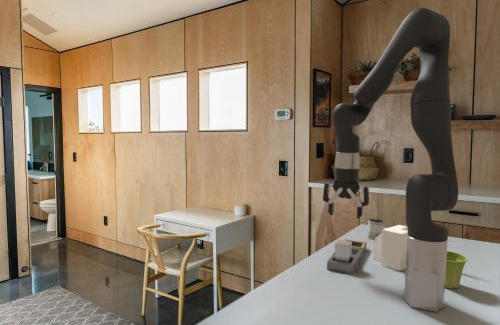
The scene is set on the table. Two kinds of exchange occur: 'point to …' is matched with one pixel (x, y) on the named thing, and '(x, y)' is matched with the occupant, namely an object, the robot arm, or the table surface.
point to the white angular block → (392, 247)
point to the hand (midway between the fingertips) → (344, 216)
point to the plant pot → (454, 269)
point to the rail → (357, 254)
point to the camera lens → (375, 228)
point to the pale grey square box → (343, 251)
